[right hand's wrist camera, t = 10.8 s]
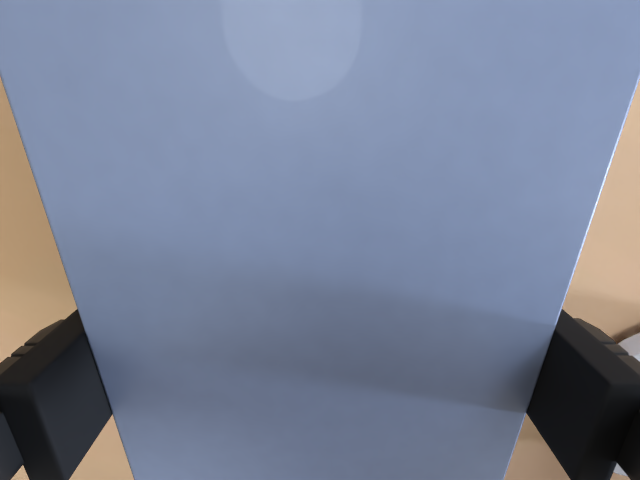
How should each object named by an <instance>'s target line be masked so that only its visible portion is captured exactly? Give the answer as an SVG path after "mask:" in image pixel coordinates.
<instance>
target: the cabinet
mask: <svg viewBox="0 0 640 480" xmlns="http://www.w3.org/2000/svg"><path fill="white" fill-rule="evenodd" d="M0 76H1V79H2V82H3V85H4V88H5V91H6V94H7V97H8V100H9V104H10V107H11V110H12V113H13V116H14V119H15V122H16V125H17V128H18V131H19V134H20V137H21V140H22V143H23V146H24V149H25V152H26V155H27V158H28V161H29V164H30V167H31V170H32V173H33V176H34V179H35V182H36V185H37V188H38V191H39V194H40V197H41V200H42V203H43V206H44V209H45V212H46V215H47V218H48V221H49V224H50V227H51V230H52V233H53V236H54V239H55V242H56V245H57V248H58V251H59V254H60V257H61V260H62V263H63V266H64V269H65V272H66V275H67V278H68V281H69V284H70V287H71V290H72V293H73V296H74V299H75V302H76V305H77V308H78V311H79V314H80V317H81V320H82V323H83V326H84V329H85V332H86V335H87V338H88V341H89V344H90V347H91V350H92V353H93V356H94V359H95V362H96V365H97V368H98V371H99V374H100V377H101V380H102V383H103V386H104V389H105V392H106V396H107V399H108V402H109V405H110V408H111V411H112V414H113V417H114V420H115V423H116V426H117V429H118V432H119V435H120V438H121V441H122V444H123V447H124V450H125V453H126V456H127V459H128V462H129V465H130V468H131V471H132V474H133V477H134V480H504V477H505V474H506V471H507V468H508V465H509V462H510V460H511V457H512V454H513V451H514V448H515V445H516V442H517V439H518V436H519V433H520V430H521V427H522V424H523V421H524V418H525V415H526V412H527V409H528V406H529V403H530V401H531V398H532V395H533V392H534V389H535V386H536V383H537V380H538V377H539V374H540V371H541V368H542V365H543V362H544V359H545V356H546V353H547V350H548V347H549V344H550V342H551V339H552V336H553V333H554V330H555V327H556V324H557V321H558V318H559V315H560V312H561V309H562V306H563V303H564V300H565V297H566V294H567V291H568V288H569V285H570V283H571V280H572V277H573V274H574V271H575V268H576V265H577V262H578V259H579V256H580V253H581V250H582V247H583V244H584V241H585V238H586V235H587V232H588V229H589V226H590V223H591V221H592V218H593V215H594V212H595V209H596V206H597V203H598V200H599V197H600V194H601V191H602V188H603V185H604V182H605V179H606V176H607V173H608V170H609V167H610V164H611V162H612V159H613V156H614V153H615V150H616V147H617V144H618V141H619V138H620V135H621V132H622V129H623V126H624V123H625V120H626V117H627V114H628V111H629V108H630V105H631V103H632V100H633V97H634V94H635V91H636V88H637V85H638V82H639V79H640V0H0Z"/></svg>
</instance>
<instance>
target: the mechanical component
mask: <svg viewBox="0 0 640 480" xmlns="http://www.w3.org/2000/svg"><path fill="white" fill-rule="evenodd" d="M617 345H620V346H621V347H622V348H623V349H625V350H626V351H627V352H628V353H629V356H633V357H635V358H636V359H637V360H638V361H640V333H638V334H636V335H633V336H631V337H629V338H627V339H624V340H623V341H621V342H620V343H618V344H617ZM613 472H614V473H617V474H620V475H625V476H627V474H626V473H625V472H624V471H623V470H622V468H621V467H620V466H619V465H618V463H617V464H616V467H615V469H614V471H613Z"/></svg>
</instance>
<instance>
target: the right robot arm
mask: <svg viewBox="0 0 640 480" xmlns="http://www.w3.org/2000/svg"><path fill="white" fill-rule="evenodd" d="M526 413H527V415H528V416H529V418H530V419H531V421H532V422H533V424H534V425H535V427H536V428H537V430H538V431H539V433H540V434H541V436H542V437H543V439H544V440H545V442H546V443H547V445H548V446H549V448H550V449H551V451H552V452H553V454H554V455H555V457H556V458H557V460H558V461H559V463H560V464H561V466H562V467H563V469H564V470H565V472H566V473H567V475H568V476H569V478H570V479H571V480H610V478H611V476H612V474H613V471H614V469H615V467H616V464H617V463H618V465H619V466H620V467H621V468H622V470H623V471H624V472H625V473H626V474H627V476H628V477H629V478H630V479H631V480H640V361H638V360H637V359H636V358H635V357H633V356H629V353H628V352H627V351H626V350H625V349H623V348H622V347H621V346H620V345H616V343H615V341H614V340H612V339H611V338H610V337H609V336H607V335H606V334H605V333H604V332H602V331H601V330H600V329H598V328H596V327H594V326H593V325H591V324H589V323H587V322H585V321H583V320H581V319H579V318H572V317H571V316H570V315H569V314H567V313H566V312H565V311H564V310H563V309H561V312H560V315H559V318H558V321H557V324H556V327H555V330H554V333H553V336H552V339H551V342H550V344H549V347H548V350H547V353H546V356H545V359H544V362H543V365H542V368H541V371H540V374H539V377H538V380H537V383H536V386H535V389H534V392H533V395H532V398H531V401H530V403H529V406H528V409H527V412H526ZM111 415H112V411H111V408H110V405H109V402H108V399H107V396H106V392H105V389H104V386H103V383H102V380H101V377H100V374H99V371H98V368H97V365H96V362H95V359H94V356H93V353H92V350H91V347H90V344H89V341H88V338H87V335H86V332H85V329H84V326H83V323H82V320H81V317H80V314H79V311H78V309H77V310H76V311H75V312H73V313H72V314H71V315H70V316H69V317H67V318H66V319H65V320H59V321H57V322H56V323H54V324H52V325H50V326H48V327H46V328H44V329H42V330H40V331H39V332H38V333H37V334H35V335H34V336H33V337H32V338H31V339H29V340H28V341H27V342H26V343H25V345H24V346H21V347H19V348H18V349H17V350H16V351H15V352H13V353H12V354H11V357H7V358H6V359H5V360H4V361H2V362H1V363H0V480H11V478H12V477H13V476H14V475H15V474H16V472H17V471H18V470H19V469H20V467H21V466H22V465H23V466H24V468H25V470H26V473H27V475H28V477H29V480H69V479H70V477H71V476H72V474H73V473H74V471H75V470H76V468H77V467H78V465H79V464H80V462H81V461H82V459H83V457H84V456H85V454H86V453H87V451H88V450H89V448H90V447H91V445H92V444H93V442H94V441H95V439H96V438H97V436H98V435H99V433H100V432H101V430H102V429H103V427H104V426H105V424H106V423H107V421H108V420H109V418H110V417H111Z"/></svg>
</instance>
